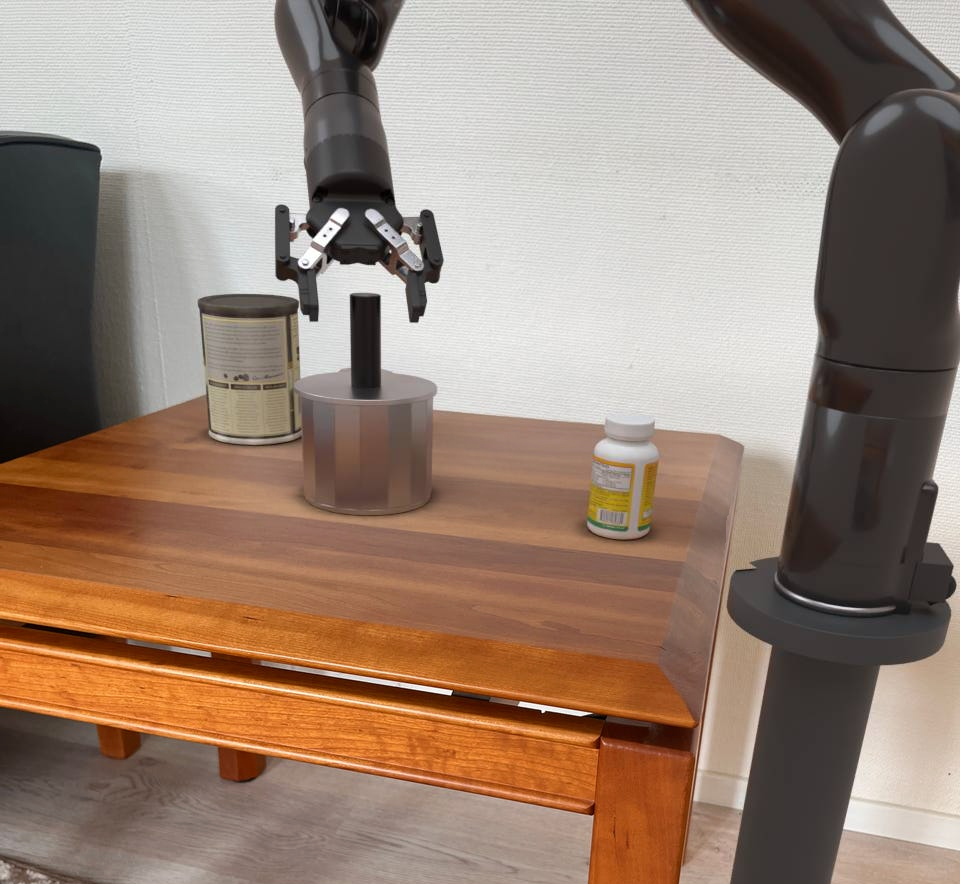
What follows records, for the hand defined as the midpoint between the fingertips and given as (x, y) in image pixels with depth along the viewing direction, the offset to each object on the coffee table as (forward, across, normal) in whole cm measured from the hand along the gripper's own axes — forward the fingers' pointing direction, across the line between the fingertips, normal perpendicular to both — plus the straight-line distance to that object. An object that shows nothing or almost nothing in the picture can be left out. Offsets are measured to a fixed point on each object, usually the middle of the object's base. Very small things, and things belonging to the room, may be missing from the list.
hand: (365, 316), depth 86 cm
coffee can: (-6, -9, +28) cm, 30 cm away
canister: (+11, 0, +12) cm, 16 cm away
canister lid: (+4, 0, +5) cm, 6 cm away
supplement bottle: (+20, +20, +3) cm, 28 cm away
